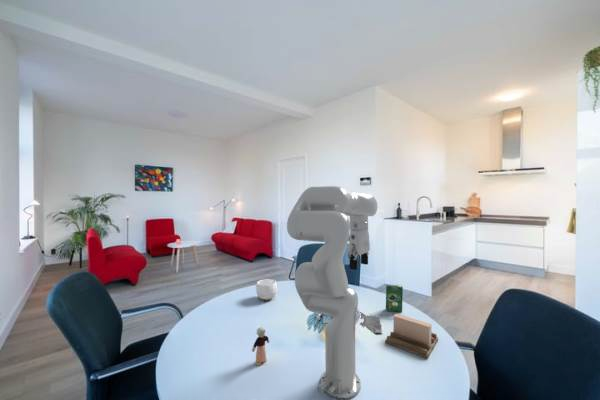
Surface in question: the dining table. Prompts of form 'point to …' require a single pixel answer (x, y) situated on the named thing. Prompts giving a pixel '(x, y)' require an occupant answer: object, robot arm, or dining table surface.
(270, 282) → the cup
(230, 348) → the dining table surface
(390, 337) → the rack
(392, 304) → the coffee box
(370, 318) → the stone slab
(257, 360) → the grandmother figurine
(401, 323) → the tan flat block
